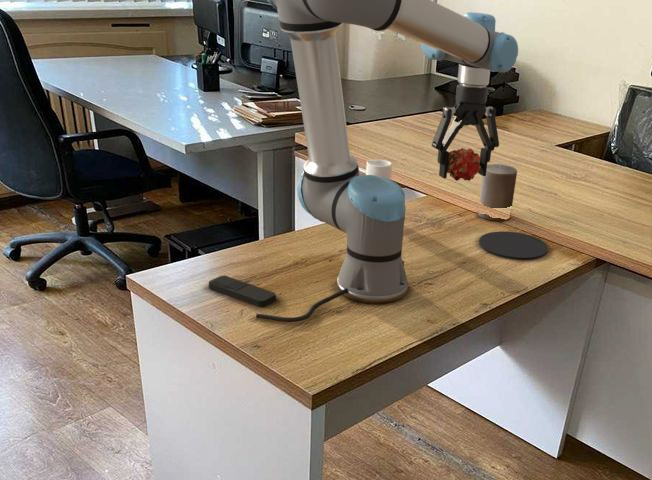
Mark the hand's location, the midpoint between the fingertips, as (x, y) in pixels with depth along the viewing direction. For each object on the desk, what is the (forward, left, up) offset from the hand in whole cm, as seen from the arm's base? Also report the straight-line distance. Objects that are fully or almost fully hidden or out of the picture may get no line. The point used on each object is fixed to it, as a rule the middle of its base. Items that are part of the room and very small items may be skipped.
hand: (462, 175), depth 177 cm
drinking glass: (-16, +17, -16) cm, 28 cm away
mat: (+11, -11, -16) cm, 22 cm away
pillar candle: (+18, +11, -16) cm, 27 cm away
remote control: (-61, -20, -16) cm, 66 cm away
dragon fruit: (0, 0, -1) cm, 1 cm away
